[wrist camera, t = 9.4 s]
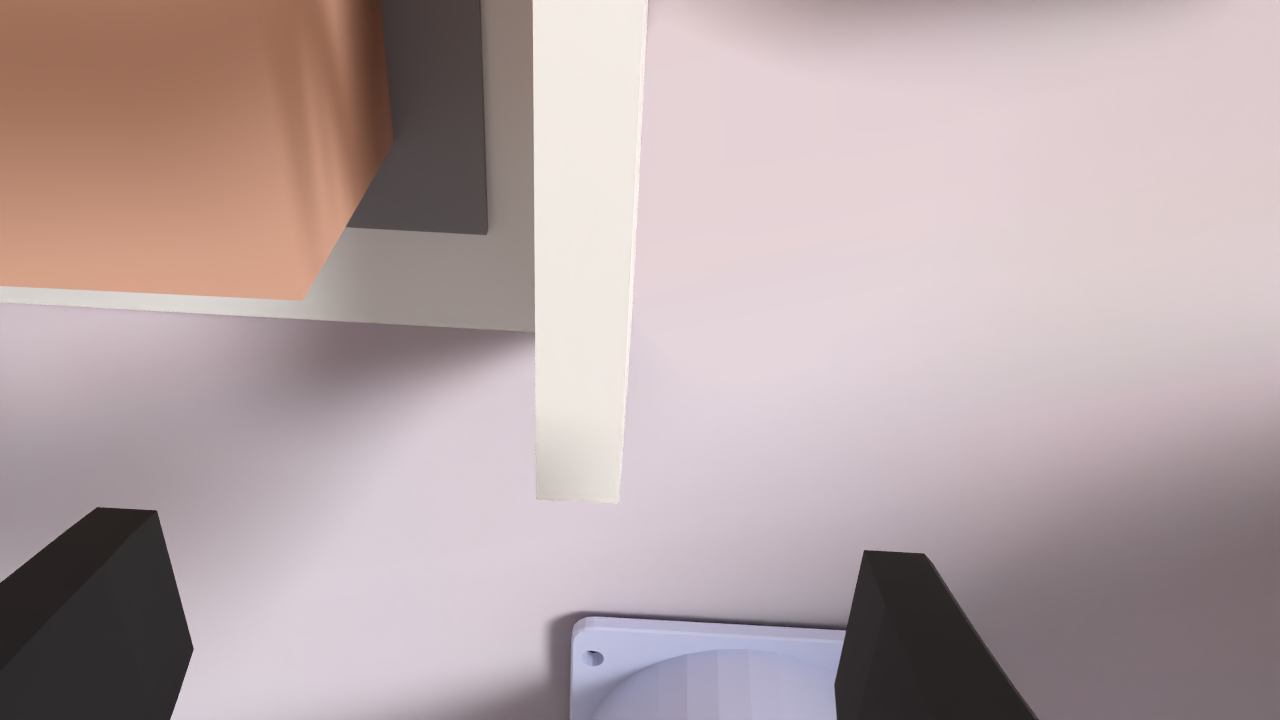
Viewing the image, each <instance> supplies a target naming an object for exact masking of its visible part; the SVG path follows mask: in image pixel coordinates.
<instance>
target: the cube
mask: <svg viewBox="0 0 1280 720" xmlns="http://www.w3.org/2000/svg"><path fill="white" fill-rule="evenodd" d="M393 144H394V137H393V126H392V116H391V105H390V94H389V83H388V72H387V62H386V51H385V40H384V29H383V18H382V8H381V0H0V286H11V287H32V288H52V289H73V290H93V291H114V292H134V293H155V294H175V295H196V296H216V297H237V298H257V299H278V300H298V301H303V300H304V298H305V296H306V294H307V293H308V291H309V289H310V287H311V286H312V284H313V282H314V280H315V279H316V277H317V275H318V274H319V272H320V270H321V268H322V267H323V265H324V263H325V261H326V260H327V258H328V256H329V255H330V253H331V251H332V249H333V248H334V246H335V244H336V242H337V241H338V239H339V237H340V235H341V234H342V232H343V230H344V229H345V227H346V225H347V223H348V222H349V220H350V218H351V216H352V215H353V213H354V211H355V210H356V208H357V206H358V204H359V203H360V201H361V199H362V197H363V196H364V194H365V192H366V190H367V189H368V187H369V185H370V184H371V182H372V180H373V178H374V177H375V175H376V173H377V171H378V170H379V168H380V166H381V165H382V163H383V161H384V159H385V158H386V156H387V154H388V152H389V151H390V149H391V147H392V145H393Z"/></svg>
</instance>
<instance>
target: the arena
mask: <svg viewBox="0 0 1280 720" xmlns="http://www.w3.org/2000/svg"><path fill="white" fill-rule="evenodd" d="M381 8H382V18H383V29H384V40H385V51H386V62H387V72H388V83H389V94H390V105H391V116H392V126H393V137H394V144H393V145H392V147H391V149H390V151H389V152H388V154H387V156H386V158H385V159H384V161H383V163H382V165H381V166H380V168H379V170H378V171H377V173H376V175H375V177H374V178H373V180H372V182H371V184H370V185H369V187H368V189H367V190H366V192H365V194H364V196H363V197H362V199H361V201H360V203H359V204H358V206H357V208H356V210H355V211H354V213H353V215H352V216H351V218H350V220H349V222H348V223H347V225H346V227H345V229H344V230H343V232H342V234H341V235H340V237H339V239H338V241H337V242H336V244H335V246H334V248H333V249H332V251H331V253H330V255H329V256H328V258H327V260H326V261H325V263H324V265H323V267H322V268H321V270H320V272H319V274H318V275H317V277H316V279H315V280H314V282H313V284H312V286H311V287H310V289H309V291H308V293H307V294H306V296H305V298H304V300H303V301H298V300H278V299H257V298H237V297H216V296H196V295H175V294H155V293H134V292H114V291H93V290H73V289H52V288H32V287H11V286H0V302H5V303H22V304H40V305H58V306H76V307H93V308H111V309H129V310H147V311H164V312H182V313H200V314H218V315H235V316H253V317H271V318H289V319H306V320H324V321H342V322H360V323H377V324H395V325H413V326H431V327H448V328H466V329H484V330H502V331H519V332H535V388H536V499H546V500H563V501H581V502H599V503H617V504H619V497H620V482H621V468H622V453H623V439H624V424H625V410H626V395H627V381H628V366H629V352H630V337H631V323H632V308H633V288H634V269H635V249H636V230H637V210H638V191H639V172H640V152H641V133H642V113H643V94H644V74H645V55H646V35H647V16H648V0H381Z"/></svg>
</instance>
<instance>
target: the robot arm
mask: <svg viewBox="0 0 1280 720" xmlns="http://www.w3.org/2000/svg"><path fill="white" fill-rule="evenodd" d="M193 650H194V649H193V645H192V641H191V637H190V633H189V630H188V626H187V622H186V618H185V615H184V611H183V607H182V603H181V600H180V596H179V592H178V588H177V585H176V581H175V577H174V573H173V570H172V566H171V562H170V558H169V554H168V551H167V547H166V543H165V539H164V536H163V532H162V528H161V524H160V521H159V517H158V513H157V511H155V510H137V509H119V508H101V507H97V508H96V509H94V510H93V511H92V512H90V513H89V514H88V515H86V516H85V517H84V518H82V519H81V520H80V521H78V522H77V523H76V524H74V525H73V526H72V527H70V528H69V529H68V530H67V531H65V532H64V533H63V534H61V535H60V536H59V537H58V538H56V539H55V540H54V541H53V542H51V543H50V544H49V545H48V546H46V547H45V548H44V549H42V550H41V551H40V552H39V553H37V554H36V555H35V556H34V557H32V558H31V559H30V560H29V561H27V562H26V563H25V564H24V565H22V566H21V567H20V568H19V569H17V570H16V571H15V572H14V573H12V574H11V575H10V576H9V577H7V578H6V579H5V580H4V581H2V582H1V583H0V720H170V718H171V716H172V713H173V710H174V707H175V704H176V702H177V699H178V696H179V693H180V689H181V686H182V683H183V680H184V677H185V674H186V671H187V668H188V665H189V662H190V659H191V656H192V653H193ZM587 651H597V653H591V652H587ZM570 720H1039V719H1038V718H1037V717H1036V715H1035V714H1034V713H1033V711H1032V710H1031V709H1030V707H1029V706H1028V704H1027V703H1026V702H1025V700H1024V699H1023V698H1022V696H1021V695H1020V694H1019V692H1018V691H1017V690H1016V688H1015V687H1014V685H1013V684H1012V682H1011V681H1010V680H1009V678H1008V677H1007V675H1006V674H1005V672H1004V671H1003V670H1002V668H1001V667H1000V665H999V664H998V662H997V661H996V659H995V658H994V657H993V655H992V654H991V652H990V651H989V649H988V648H987V646H986V645H985V643H984V642H983V640H982V639H981V637H980V636H979V634H978V633H977V631H976V630H975V628H974V627H973V625H972V624H971V622H970V621H969V619H968V618H967V616H966V615H965V613H964V612H963V610H962V609H961V607H960V606H959V604H958V602H957V601H956V599H955V598H954V596H953V595H952V593H951V592H950V590H949V588H948V587H947V585H946V584H945V582H944V581H943V579H942V577H941V576H940V574H939V573H938V571H937V570H936V568H935V566H934V565H933V563H932V562H931V561H930V560H929V559H928V557H927V556H926V555H925V554H922V553H904V552H887V551H869V550H864V553H863V557H862V562H861V566H860V571H859V575H858V580H857V584H856V589H855V593H854V598H853V602H852V607H851V611H850V616H849V620H848V625H847V629H846V630H828V629H810V628H792V627H774V626H757V625H739V624H721V623H703V622H685V621H667V620H649V619H631V618H613V617H595V616H594V617H585V618H583V619H581V620H579V621H577V622H576V623H575V624H574V626H573V630H572V637H571V673H570Z"/></svg>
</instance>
